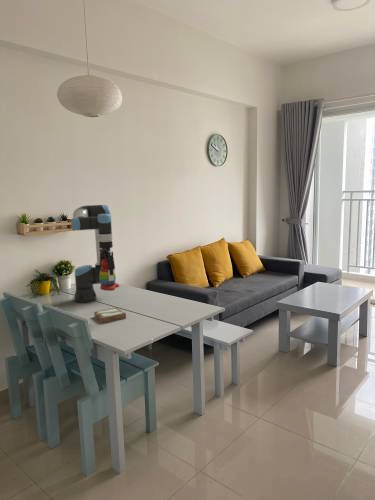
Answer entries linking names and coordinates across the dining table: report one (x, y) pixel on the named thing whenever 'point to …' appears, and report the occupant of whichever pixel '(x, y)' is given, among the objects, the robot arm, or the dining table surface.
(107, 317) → the picture frame
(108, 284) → the stacking bear
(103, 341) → the dining table surface
